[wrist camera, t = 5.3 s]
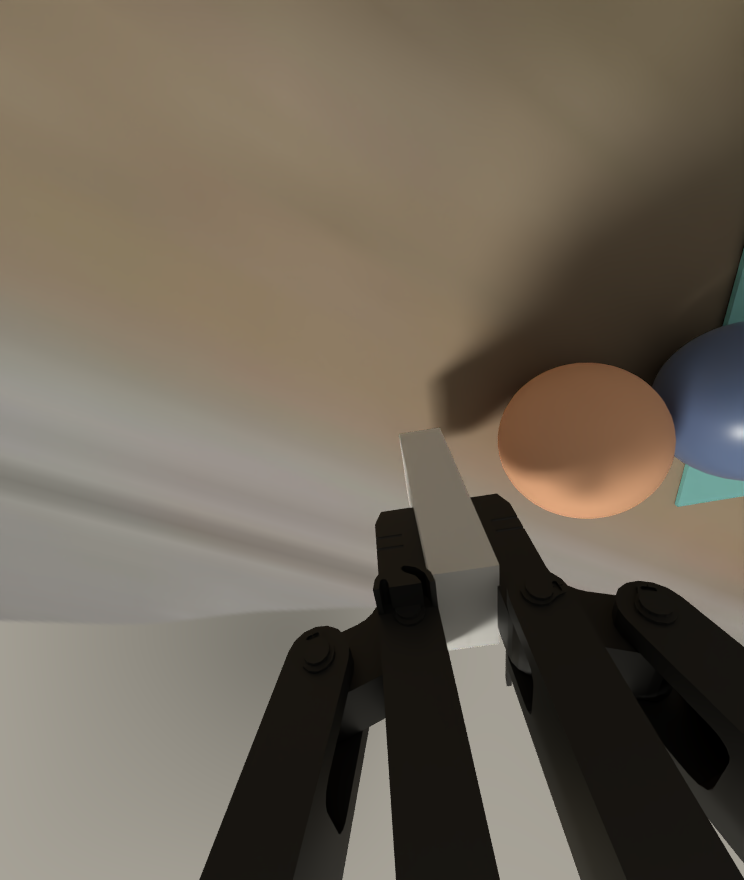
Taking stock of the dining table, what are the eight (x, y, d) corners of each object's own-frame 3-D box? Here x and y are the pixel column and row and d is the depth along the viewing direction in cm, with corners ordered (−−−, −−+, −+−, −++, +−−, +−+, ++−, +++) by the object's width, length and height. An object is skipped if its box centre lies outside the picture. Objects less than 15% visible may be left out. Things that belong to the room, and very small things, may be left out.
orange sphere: (670, 567, 12) (628, 470, 17) (739, 408, 9) (668, 343, 14) (488, 537, 14) (495, 456, 18) (502, 395, 11) (507, 341, 15)
